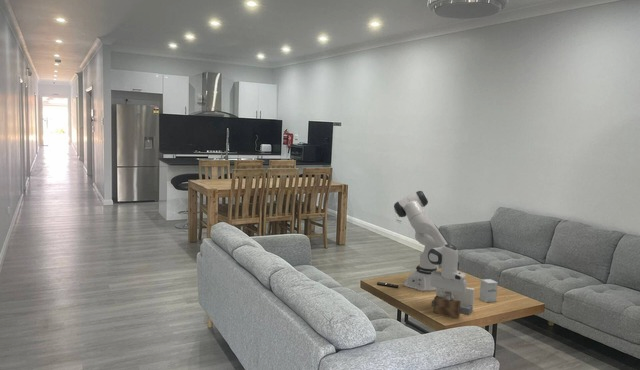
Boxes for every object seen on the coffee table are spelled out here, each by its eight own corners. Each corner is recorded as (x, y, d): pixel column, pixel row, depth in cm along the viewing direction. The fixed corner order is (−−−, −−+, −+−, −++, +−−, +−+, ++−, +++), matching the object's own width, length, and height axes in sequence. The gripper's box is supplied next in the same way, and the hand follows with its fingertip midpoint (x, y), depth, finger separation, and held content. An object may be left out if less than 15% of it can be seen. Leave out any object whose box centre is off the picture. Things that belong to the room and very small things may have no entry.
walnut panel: (433, 312, 268) (434, 290, 266) (435, 310, 271) (436, 288, 270) (457, 318, 260) (459, 295, 259) (459, 316, 264) (461, 293, 262)
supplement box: (486, 302, 288) (487, 282, 286) (479, 298, 295) (480, 279, 293) (496, 302, 290) (498, 282, 288) (489, 298, 297) (490, 278, 295)
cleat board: (431, 306, 277) (433, 285, 276) (436, 302, 285) (438, 281, 284) (469, 314, 266) (470, 292, 264) (473, 310, 273) (474, 288, 272)
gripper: (429, 271, 266) (428, 294, 268) (465, 278, 255) (463, 302, 257) (433, 268, 272) (431, 291, 273) (468, 275, 261) (466, 299, 262)
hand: (447, 297), depth 265 cm, fingers open, 4 cm apart
